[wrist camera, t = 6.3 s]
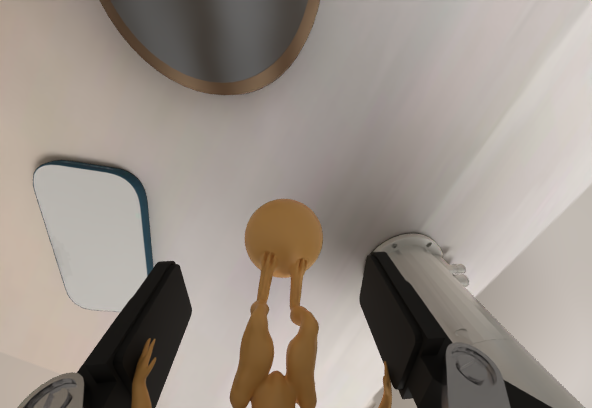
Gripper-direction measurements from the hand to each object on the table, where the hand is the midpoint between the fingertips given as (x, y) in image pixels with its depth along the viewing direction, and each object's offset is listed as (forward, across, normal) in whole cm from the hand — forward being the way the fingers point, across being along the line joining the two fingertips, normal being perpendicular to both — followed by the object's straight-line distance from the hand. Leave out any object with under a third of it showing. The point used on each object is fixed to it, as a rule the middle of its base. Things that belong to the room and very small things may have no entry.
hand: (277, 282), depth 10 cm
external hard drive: (+21, +24, +11) cm, 34 cm away
